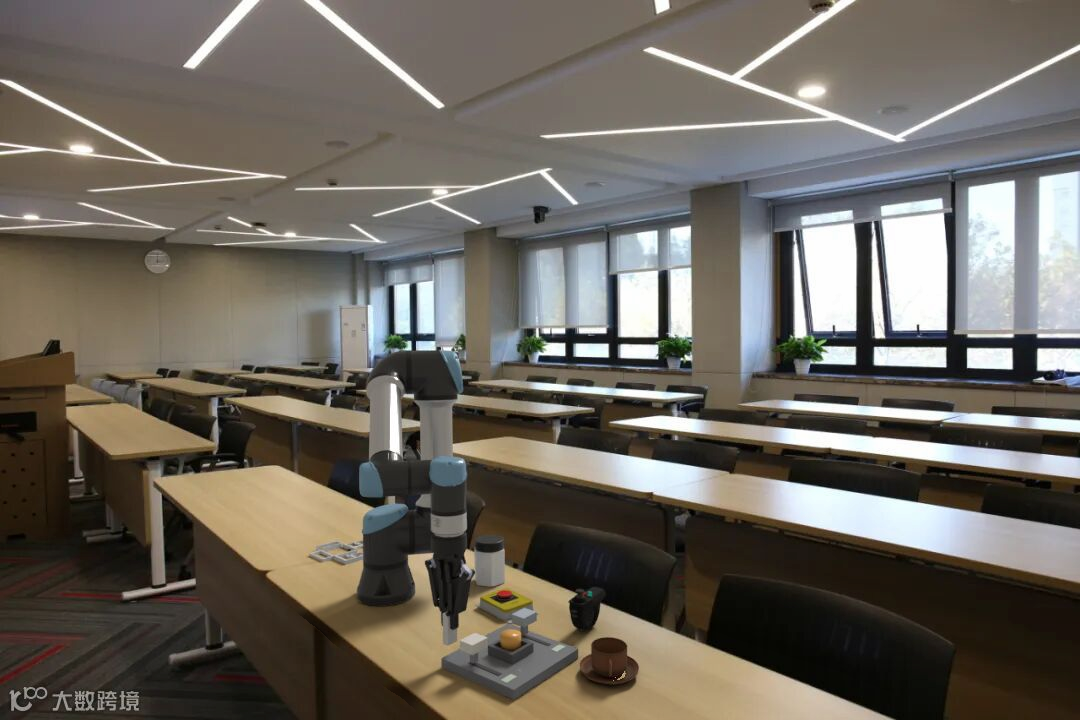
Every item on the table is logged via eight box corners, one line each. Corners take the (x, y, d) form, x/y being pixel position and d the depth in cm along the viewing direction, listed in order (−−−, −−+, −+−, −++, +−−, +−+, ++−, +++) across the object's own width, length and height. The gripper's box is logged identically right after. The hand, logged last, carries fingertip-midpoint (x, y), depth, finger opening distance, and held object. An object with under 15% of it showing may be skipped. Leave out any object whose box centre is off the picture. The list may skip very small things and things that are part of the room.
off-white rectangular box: (460, 662, 139) (459, 640, 139) (475, 654, 142) (474, 632, 142) (472, 668, 137) (472, 645, 136) (487, 659, 140) (487, 637, 140)
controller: (565, 634, 157) (565, 592, 156) (592, 615, 167) (592, 575, 166) (581, 639, 154) (581, 596, 154) (608, 620, 165) (608, 579, 164)
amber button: (495, 645, 143) (495, 634, 143) (509, 638, 147) (509, 627, 147) (511, 652, 141) (511, 640, 140) (525, 644, 144) (525, 633, 144)
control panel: (441, 667, 142) (441, 648, 142) (508, 632, 158) (508, 615, 158) (514, 700, 129) (513, 679, 129) (578, 657, 146) (578, 639, 146)
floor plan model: (286, 560, 210) (286, 554, 210) (357, 541, 228) (357, 535, 228) (317, 575, 197) (316, 568, 197) (389, 553, 215) (389, 547, 215)
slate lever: (511, 634, 151) (511, 614, 151) (524, 628, 155) (524, 607, 154) (524, 639, 149) (523, 618, 149) (536, 632, 152) (536, 611, 152)
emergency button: (503, 581, 180) (540, 598, 168) (504, 597, 180) (540, 615, 168) (474, 590, 174) (510, 608, 162) (474, 606, 174) (510, 626, 162)
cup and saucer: (648, 685, 135) (648, 654, 135) (592, 694, 132) (592, 663, 131) (624, 657, 147) (624, 629, 146) (571, 665, 143) (571, 636, 143)
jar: (468, 585, 187) (468, 542, 187) (480, 574, 195) (479, 533, 195) (499, 588, 185) (499, 545, 184) (509, 578, 192) (509, 536, 192)
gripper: (414, 530, 144) (415, 640, 145) (457, 542, 135) (459, 658, 137) (440, 522, 149) (442, 627, 151) (483, 533, 141) (484, 644, 142)
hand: (450, 642), depth 144 cm, fingers closed
